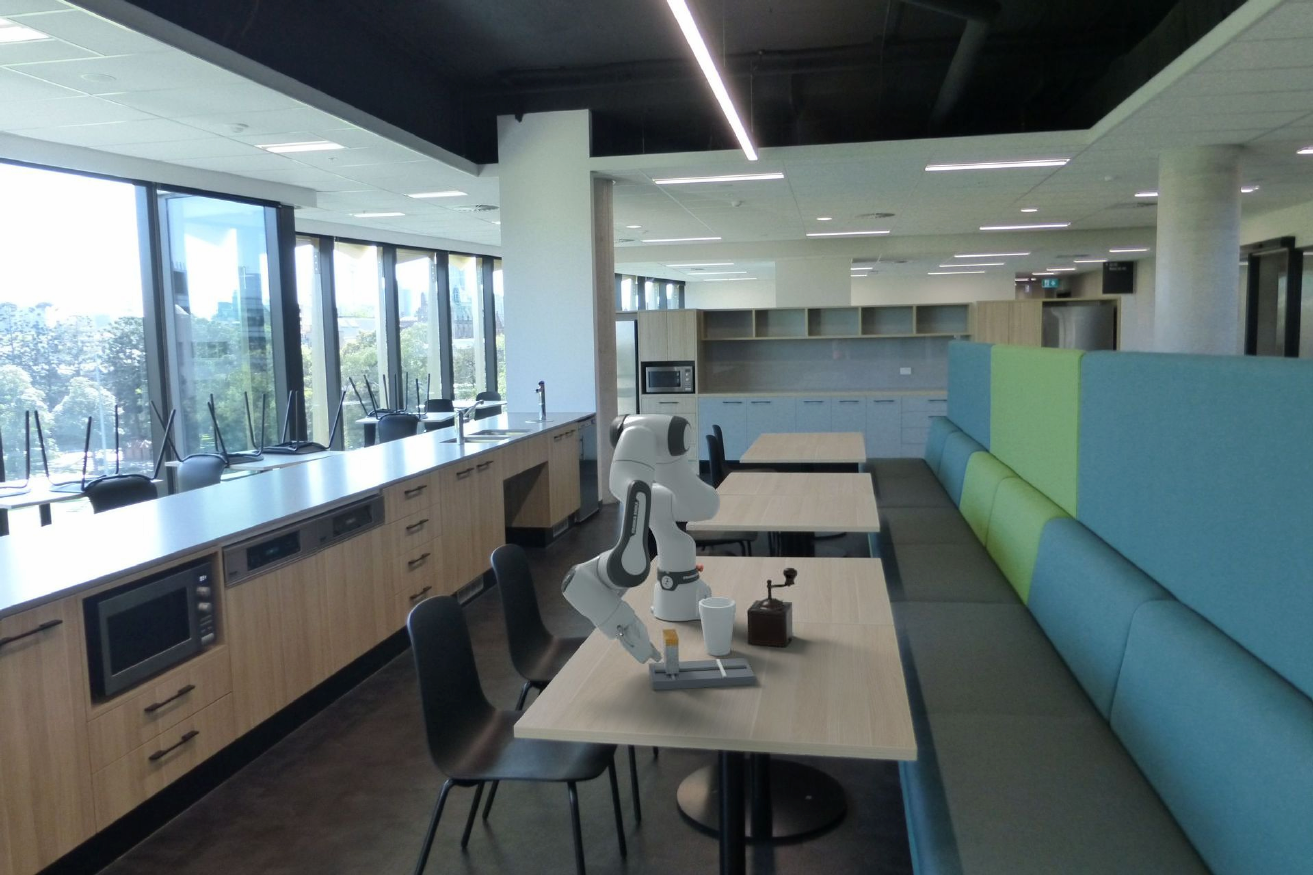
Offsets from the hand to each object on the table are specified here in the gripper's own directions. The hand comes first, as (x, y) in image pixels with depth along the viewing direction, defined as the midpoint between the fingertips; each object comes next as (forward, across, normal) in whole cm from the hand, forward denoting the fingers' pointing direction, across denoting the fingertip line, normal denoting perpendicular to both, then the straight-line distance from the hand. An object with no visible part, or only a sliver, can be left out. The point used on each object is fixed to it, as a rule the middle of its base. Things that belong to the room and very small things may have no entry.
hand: (659, 658), depth 215 cm
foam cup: (+16, +17, -8) cm, 25 cm away
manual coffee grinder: (+27, +26, -20) cm, 43 cm away
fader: (+4, 0, 0) cm, 4 cm away
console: (+11, 0, -3) cm, 11 cm away
